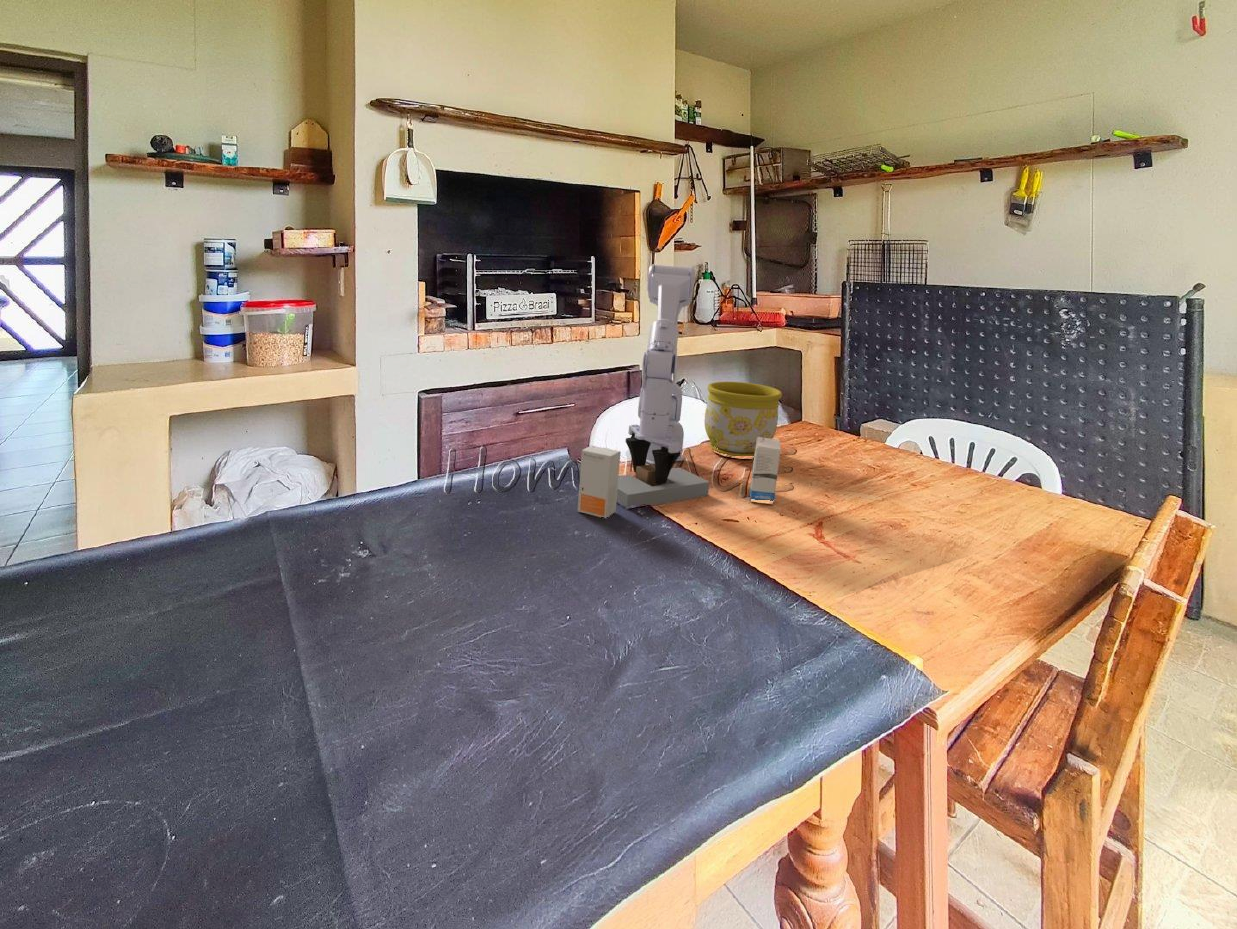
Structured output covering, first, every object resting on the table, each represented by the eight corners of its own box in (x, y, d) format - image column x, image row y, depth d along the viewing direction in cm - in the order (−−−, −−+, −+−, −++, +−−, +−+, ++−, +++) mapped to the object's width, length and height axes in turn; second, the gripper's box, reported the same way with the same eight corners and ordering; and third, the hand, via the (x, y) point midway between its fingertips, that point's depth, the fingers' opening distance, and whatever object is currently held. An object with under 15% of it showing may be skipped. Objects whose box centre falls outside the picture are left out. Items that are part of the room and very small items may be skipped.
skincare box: (576, 512, 125) (580, 449, 122) (587, 505, 129) (591, 444, 126) (606, 519, 123) (611, 456, 120) (616, 512, 127) (621, 450, 123)
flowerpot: (744, 441, 184) (752, 380, 179) (787, 460, 169) (797, 395, 164) (687, 445, 176) (693, 381, 171) (727, 466, 161) (736, 397, 156)
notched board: (677, 480, 147) (679, 467, 146) (708, 495, 139) (709, 481, 139) (598, 492, 136) (599, 478, 136) (626, 509, 129) (628, 494, 128)
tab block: (650, 487, 142) (652, 464, 141) (661, 493, 139) (663, 470, 138) (634, 489, 140) (636, 466, 139) (645, 496, 137) (647, 472, 135)
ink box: (773, 506, 137) (782, 449, 133) (748, 502, 137) (756, 446, 134) (772, 492, 145) (780, 438, 141) (749, 489, 145) (756, 435, 142)
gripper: (618, 405, 138) (613, 469, 142) (661, 422, 127) (654, 491, 131) (646, 403, 142) (641, 465, 146) (690, 419, 131) (683, 486, 135)
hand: (649, 477), depth 139 cm, fingers open, 7 cm apart
